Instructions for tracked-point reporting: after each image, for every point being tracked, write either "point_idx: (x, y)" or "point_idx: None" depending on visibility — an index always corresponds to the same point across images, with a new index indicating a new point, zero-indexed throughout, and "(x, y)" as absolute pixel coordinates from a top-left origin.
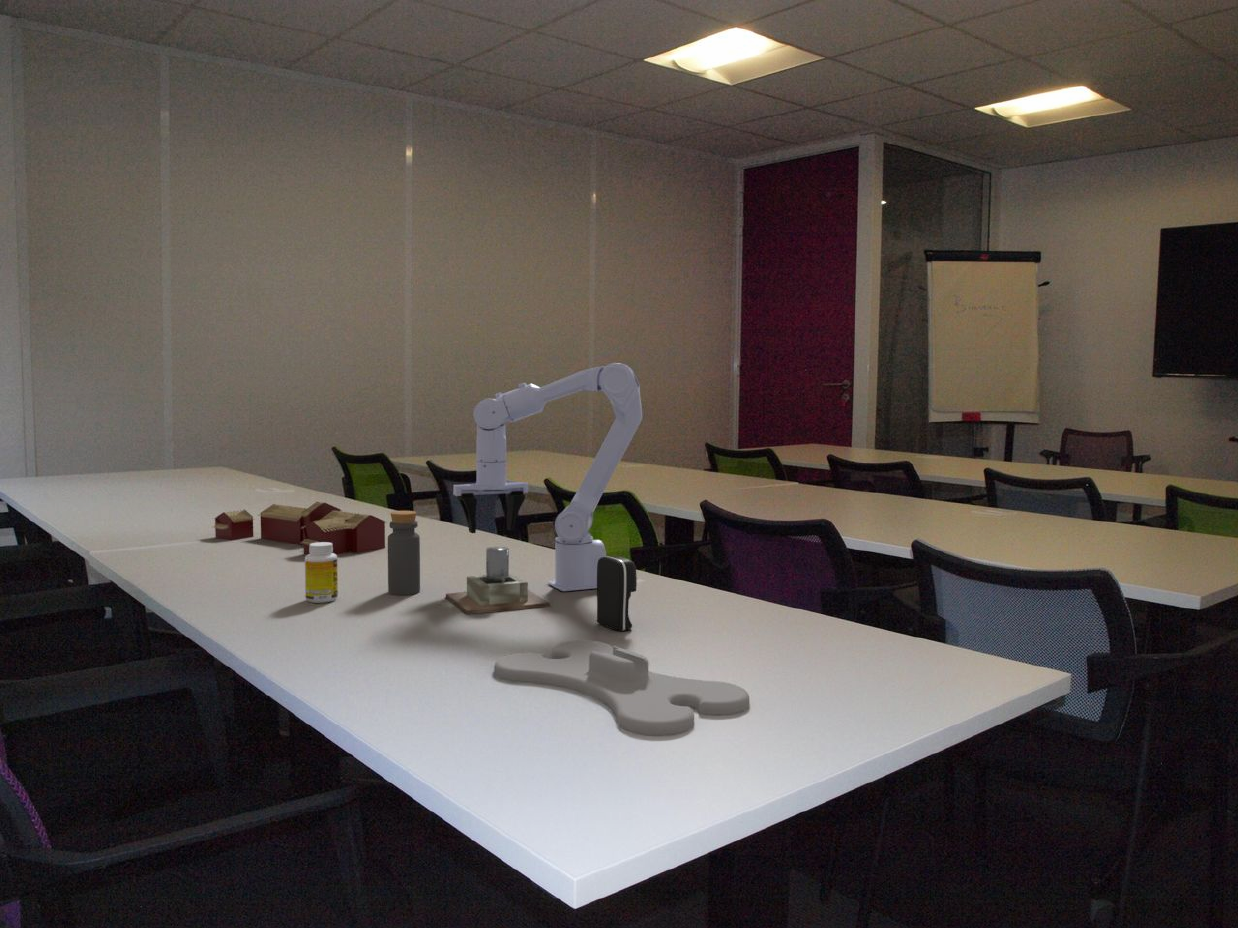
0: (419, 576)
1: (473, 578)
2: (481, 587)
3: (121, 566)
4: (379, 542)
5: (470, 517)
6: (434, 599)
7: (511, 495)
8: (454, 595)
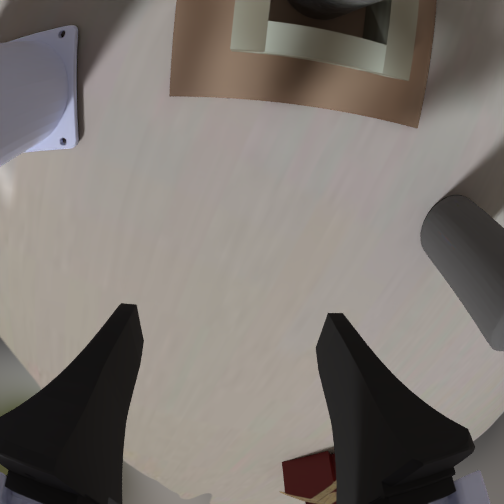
0: (451, 227)
1: (402, 42)
2: None
3: (500, 412)
4: (292, 467)
5: (387, 368)
6: (443, 118)
7: (83, 489)
8: (409, 94)
